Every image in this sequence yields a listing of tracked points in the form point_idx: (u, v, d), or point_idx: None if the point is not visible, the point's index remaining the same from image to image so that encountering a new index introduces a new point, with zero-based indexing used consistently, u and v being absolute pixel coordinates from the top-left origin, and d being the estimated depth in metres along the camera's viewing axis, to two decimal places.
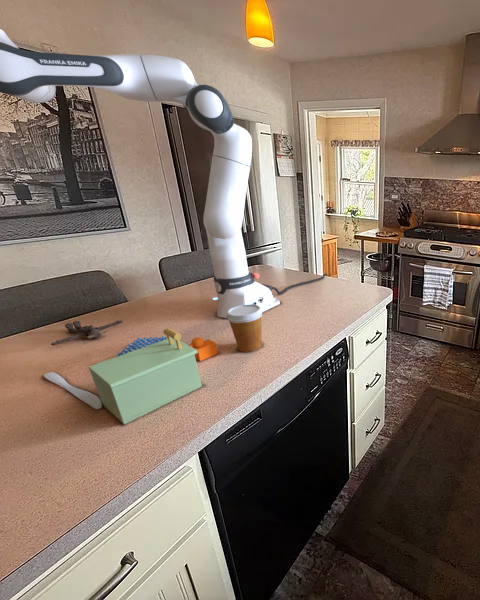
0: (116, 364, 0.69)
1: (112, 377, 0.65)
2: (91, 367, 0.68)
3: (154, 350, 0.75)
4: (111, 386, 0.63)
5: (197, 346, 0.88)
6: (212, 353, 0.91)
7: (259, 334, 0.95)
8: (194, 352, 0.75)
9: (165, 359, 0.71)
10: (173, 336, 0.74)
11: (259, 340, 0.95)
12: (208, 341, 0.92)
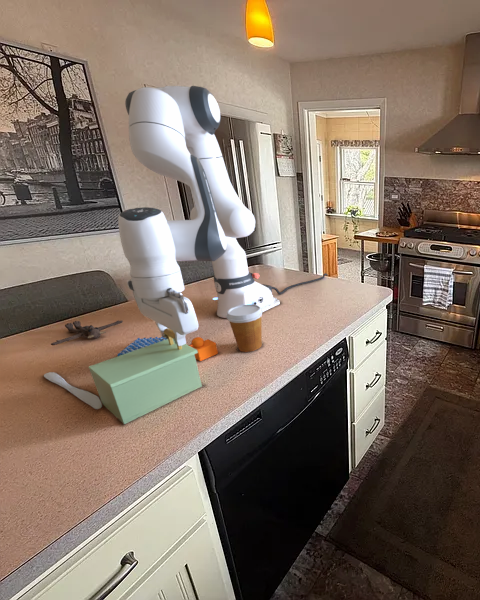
0: (116, 364, 0.69)
1: (112, 377, 0.65)
2: (91, 367, 0.68)
3: (154, 350, 0.75)
4: (111, 386, 0.63)
5: (197, 346, 0.88)
6: (212, 353, 0.91)
7: (259, 334, 0.95)
8: (194, 352, 0.75)
9: (165, 359, 0.71)
10: (173, 336, 0.74)
11: (259, 340, 0.95)
12: (208, 341, 0.92)
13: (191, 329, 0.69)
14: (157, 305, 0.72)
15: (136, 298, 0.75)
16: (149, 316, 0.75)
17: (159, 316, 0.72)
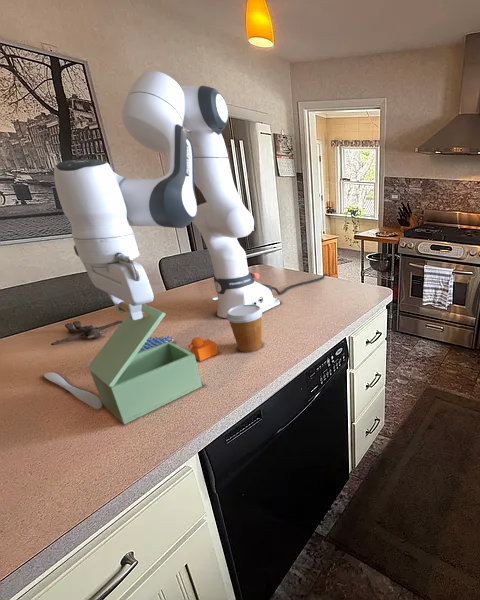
0: (105, 357, 0.68)
1: (107, 375, 0.64)
2: (89, 367, 0.68)
3: (128, 326, 0.70)
4: (111, 385, 0.63)
5: (197, 346, 0.88)
6: (212, 353, 0.91)
7: (259, 334, 0.95)
8: (161, 316, 0.68)
9: (140, 337, 0.67)
10: None
11: (259, 340, 0.95)
12: (208, 341, 0.92)
13: (144, 299, 0.61)
14: (107, 273, 0.63)
15: (86, 267, 0.67)
16: (101, 287, 0.67)
17: (109, 286, 0.64)
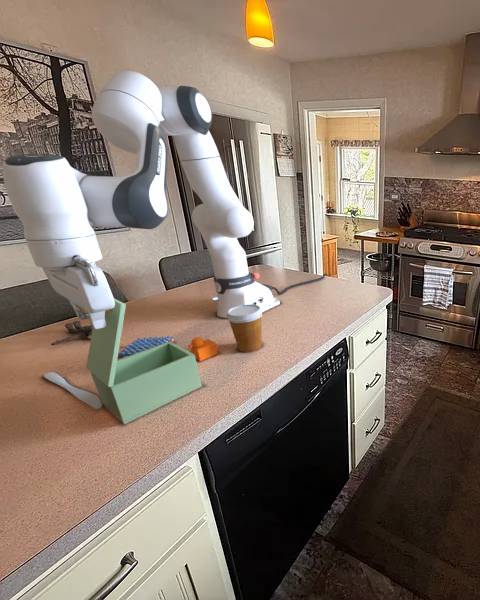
0: (95, 357, 0.66)
1: (103, 376, 0.64)
2: (88, 368, 0.68)
3: None
4: (110, 385, 0.63)
5: (197, 346, 0.88)
6: (212, 353, 0.91)
7: (259, 334, 0.95)
8: (122, 307, 0.62)
9: (113, 333, 0.63)
10: None
11: (259, 340, 0.95)
12: (208, 341, 0.92)
13: (103, 306, 0.56)
14: (65, 277, 0.58)
15: (45, 271, 0.62)
16: (61, 292, 0.62)
17: (68, 291, 0.59)
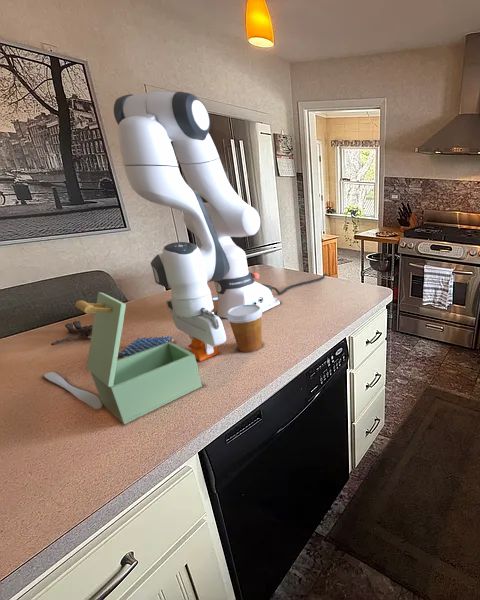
0: (95, 357, 0.66)
1: (103, 376, 0.64)
2: (88, 368, 0.68)
3: (100, 323, 0.66)
4: (110, 385, 0.63)
5: (197, 346, 0.88)
6: (212, 353, 0.91)
7: (259, 334, 0.95)
8: (122, 307, 0.62)
9: (113, 333, 0.63)
10: None
11: (259, 340, 0.95)
12: None
13: (221, 341, 0.84)
14: (192, 321, 0.86)
15: (173, 315, 0.90)
16: (183, 330, 0.90)
17: (193, 330, 0.87)
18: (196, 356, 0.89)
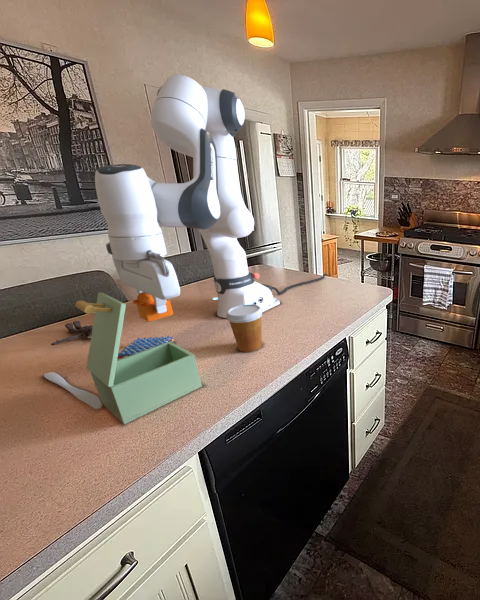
0: (95, 357, 0.66)
1: (103, 376, 0.64)
2: (88, 368, 0.68)
3: (100, 323, 0.66)
4: (110, 385, 0.63)
5: (144, 302, 0.69)
6: (165, 313, 0.73)
7: (259, 334, 0.95)
8: (122, 307, 0.62)
9: (113, 333, 0.63)
10: None
11: (259, 340, 0.95)
12: None
13: (172, 294, 0.66)
14: (137, 269, 0.68)
15: (116, 264, 0.72)
16: (129, 283, 0.72)
17: (139, 281, 0.68)
18: (143, 316, 0.70)
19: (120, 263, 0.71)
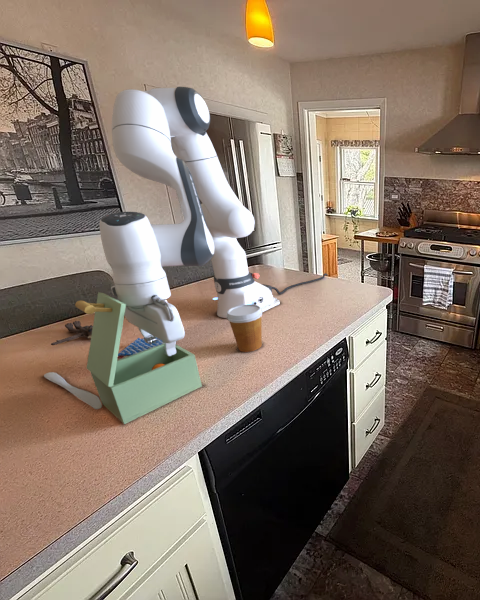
0: (95, 357, 0.66)
1: (103, 376, 0.64)
2: (88, 368, 0.68)
3: (100, 323, 0.66)
4: (110, 385, 0.63)
5: None
6: None
7: (259, 334, 0.95)
8: (122, 307, 0.62)
9: (113, 333, 0.63)
10: None
11: (259, 340, 0.95)
12: None
13: (177, 337, 0.67)
14: (142, 312, 0.69)
15: None
16: (135, 323, 0.73)
17: (144, 323, 0.70)
18: None
19: None
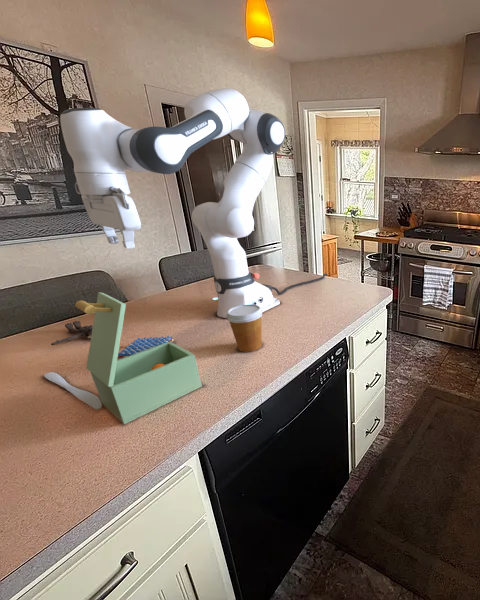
0: (95, 357, 0.66)
1: (103, 376, 0.64)
2: (88, 368, 0.68)
3: (100, 323, 0.66)
4: (110, 385, 0.63)
5: None
6: None
7: (259, 334, 0.95)
8: (122, 307, 0.62)
9: (113, 333, 0.63)
10: None
11: (259, 340, 0.95)
12: None
13: (133, 226, 0.73)
14: (102, 206, 0.76)
15: (85, 204, 0.79)
16: (97, 221, 0.79)
17: (104, 217, 0.76)
18: None
19: (89, 203, 0.79)
